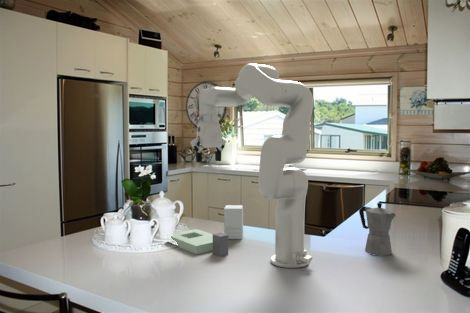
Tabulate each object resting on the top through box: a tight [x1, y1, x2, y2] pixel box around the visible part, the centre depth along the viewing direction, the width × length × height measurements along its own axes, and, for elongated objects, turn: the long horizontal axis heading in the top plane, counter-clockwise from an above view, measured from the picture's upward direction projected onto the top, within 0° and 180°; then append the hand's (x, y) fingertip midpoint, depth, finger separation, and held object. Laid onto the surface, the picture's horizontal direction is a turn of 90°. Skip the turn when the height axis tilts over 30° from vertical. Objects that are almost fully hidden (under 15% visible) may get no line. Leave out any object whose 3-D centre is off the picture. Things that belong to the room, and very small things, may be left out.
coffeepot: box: [358, 202, 397, 256], centre depth 149 cm, size 15×9×18 cm, turn 34°
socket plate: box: [171, 228, 214, 255], centre depth 158 cm, size 20×14×3 cm
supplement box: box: [223, 204, 244, 240], centre depth 169 cm, size 7×7×13 cm
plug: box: [212, 232, 229, 257], centre depth 147 cm, size 4×4×7 cm
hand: (208, 161), depth 169 cm, fingers open, 9 cm apart
